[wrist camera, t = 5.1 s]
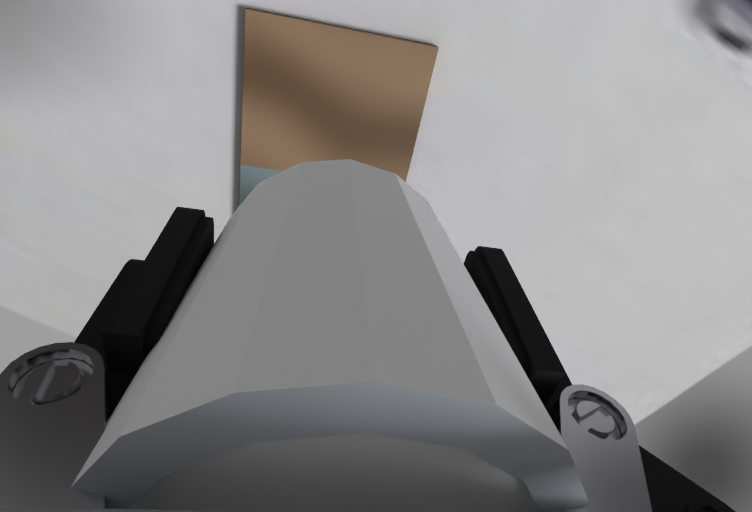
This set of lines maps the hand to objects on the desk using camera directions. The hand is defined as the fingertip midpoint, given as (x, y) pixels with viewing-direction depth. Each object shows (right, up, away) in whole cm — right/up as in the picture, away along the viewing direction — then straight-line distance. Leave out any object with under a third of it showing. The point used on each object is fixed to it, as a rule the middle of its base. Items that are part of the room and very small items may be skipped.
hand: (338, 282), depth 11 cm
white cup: (0, +1, +1) cm, 1 cm away
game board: (-3, +2, +17) cm, 17 cm away
